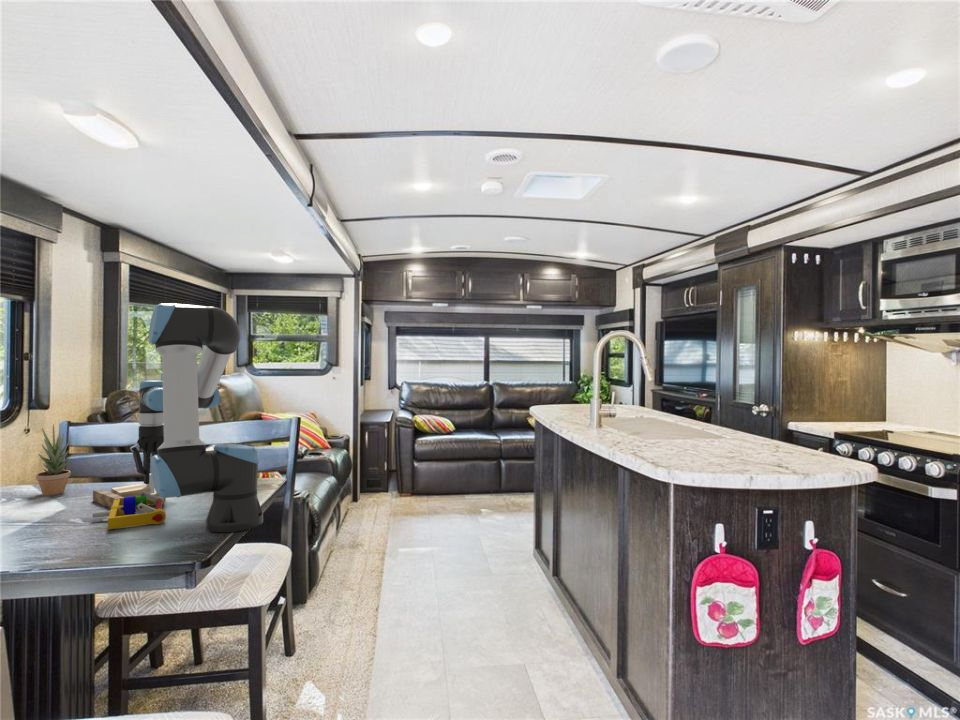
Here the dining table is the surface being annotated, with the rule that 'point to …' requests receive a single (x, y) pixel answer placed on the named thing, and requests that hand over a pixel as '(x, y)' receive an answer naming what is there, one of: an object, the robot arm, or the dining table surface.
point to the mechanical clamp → (134, 511)
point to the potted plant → (53, 467)
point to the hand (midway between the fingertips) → (150, 492)
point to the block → (130, 490)
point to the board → (105, 497)
